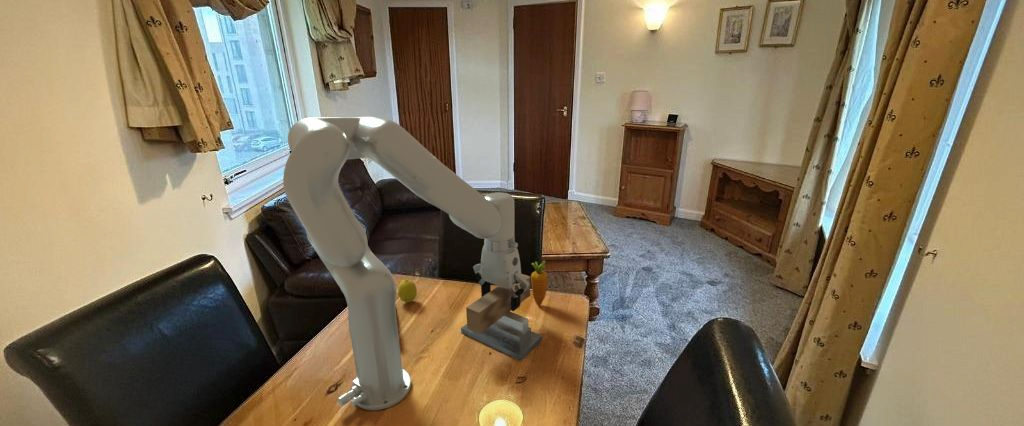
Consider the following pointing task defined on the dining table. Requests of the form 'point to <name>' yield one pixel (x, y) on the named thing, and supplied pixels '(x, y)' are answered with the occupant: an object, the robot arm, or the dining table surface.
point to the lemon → (407, 291)
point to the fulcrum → (508, 336)
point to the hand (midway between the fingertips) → (500, 302)
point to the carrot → (539, 283)
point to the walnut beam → (492, 307)
